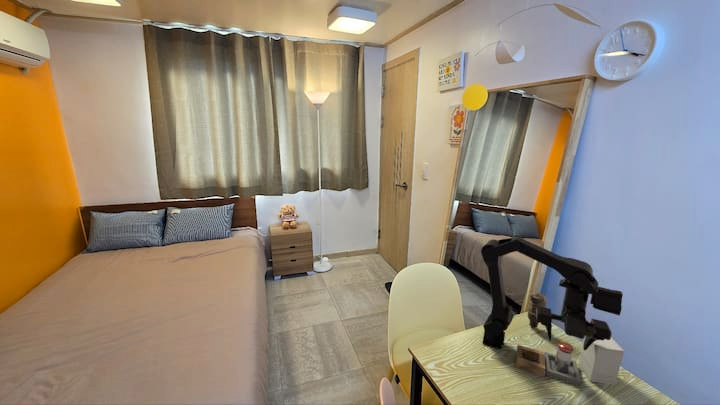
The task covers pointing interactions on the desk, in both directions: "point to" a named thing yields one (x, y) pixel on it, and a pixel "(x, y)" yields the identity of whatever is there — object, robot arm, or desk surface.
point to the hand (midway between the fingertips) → (566, 344)
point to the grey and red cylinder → (563, 357)
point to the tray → (569, 377)
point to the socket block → (529, 365)
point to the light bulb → (535, 301)
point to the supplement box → (601, 361)
